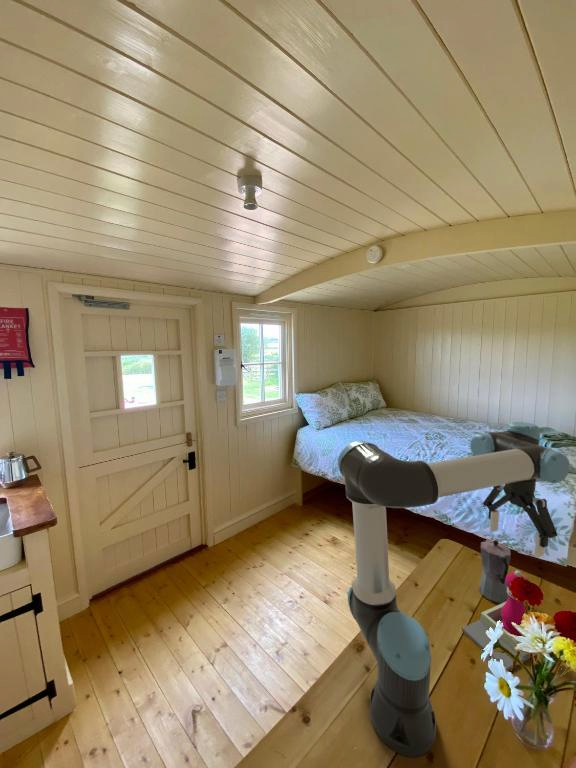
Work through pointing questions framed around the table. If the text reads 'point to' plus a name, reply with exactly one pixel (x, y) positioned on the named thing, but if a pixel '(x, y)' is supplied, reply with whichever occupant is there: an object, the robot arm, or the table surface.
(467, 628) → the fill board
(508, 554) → the moka pot
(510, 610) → the pepper mill
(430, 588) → the table surface
